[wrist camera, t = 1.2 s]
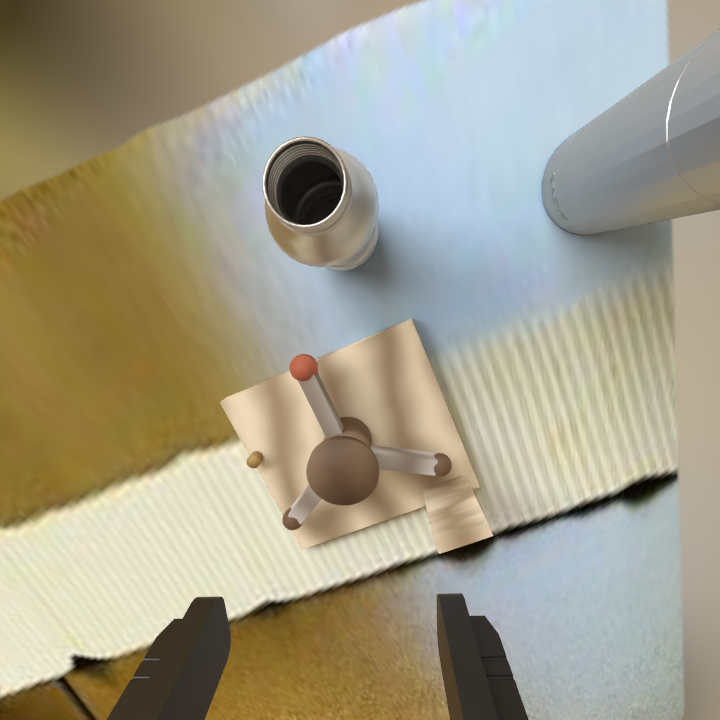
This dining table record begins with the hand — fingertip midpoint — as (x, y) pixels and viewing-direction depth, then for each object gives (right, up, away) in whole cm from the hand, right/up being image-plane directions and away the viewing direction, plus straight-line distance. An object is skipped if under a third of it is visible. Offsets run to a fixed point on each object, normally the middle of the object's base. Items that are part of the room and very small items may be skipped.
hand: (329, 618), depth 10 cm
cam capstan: (-1, +2, +26) cm, 26 cm away
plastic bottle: (-1, +20, +24) cm, 31 cm away
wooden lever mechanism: (0, -1, +29) cm, 29 cm away
